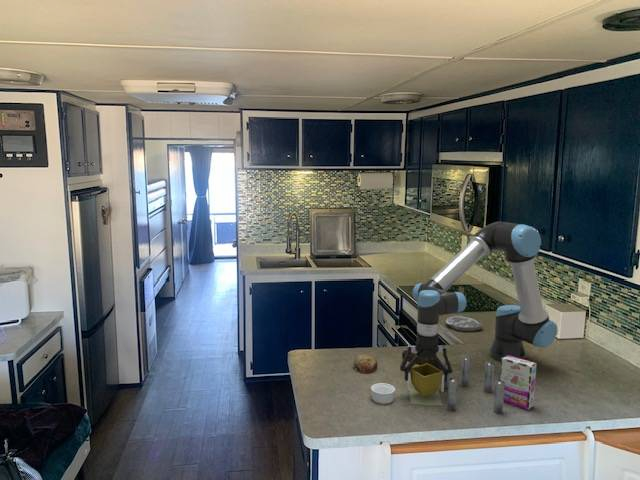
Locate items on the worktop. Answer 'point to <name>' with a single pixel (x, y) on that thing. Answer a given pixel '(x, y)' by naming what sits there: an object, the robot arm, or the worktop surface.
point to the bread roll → (365, 363)
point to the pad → (424, 398)
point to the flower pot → (426, 379)
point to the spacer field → (465, 372)
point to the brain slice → (463, 323)
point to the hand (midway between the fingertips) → (425, 389)
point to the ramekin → (382, 393)
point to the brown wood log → (422, 360)
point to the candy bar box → (518, 381)
